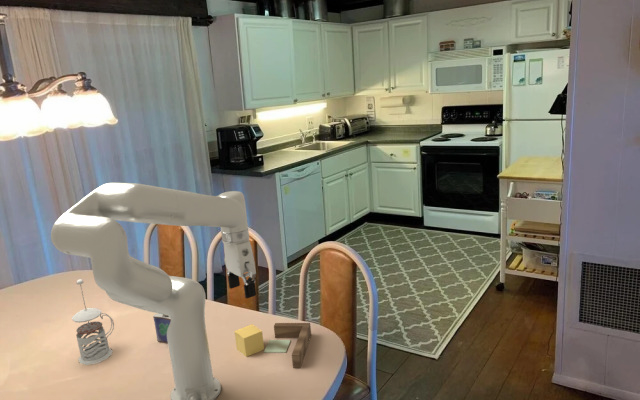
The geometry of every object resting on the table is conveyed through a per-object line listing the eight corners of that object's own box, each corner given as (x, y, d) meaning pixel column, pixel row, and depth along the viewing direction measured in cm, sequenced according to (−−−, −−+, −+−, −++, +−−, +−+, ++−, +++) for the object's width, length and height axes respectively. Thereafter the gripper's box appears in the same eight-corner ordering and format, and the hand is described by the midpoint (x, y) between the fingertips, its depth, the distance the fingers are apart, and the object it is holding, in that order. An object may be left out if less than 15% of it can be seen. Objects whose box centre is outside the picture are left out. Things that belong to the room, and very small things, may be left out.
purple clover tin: (155, 341, 154) (150, 310, 152) (162, 337, 157) (157, 306, 154) (178, 346, 150) (173, 314, 148) (184, 341, 153) (180, 310, 150)
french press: (73, 356, 149) (57, 280, 143) (112, 341, 156) (98, 268, 151) (82, 369, 142) (65, 289, 136) (123, 353, 149) (108, 276, 143)
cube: (264, 349, 144) (262, 331, 143) (246, 357, 141) (243, 338, 140) (254, 341, 149) (252, 324, 148) (236, 349, 146) (234, 331, 144)
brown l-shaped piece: (300, 368, 133) (298, 354, 132) (256, 367, 135) (255, 354, 134) (311, 334, 150) (310, 322, 150) (272, 334, 152) (271, 322, 152)
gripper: (262, 238, 132) (269, 296, 136) (233, 226, 146) (240, 280, 150) (237, 245, 128) (245, 305, 132) (210, 232, 142) (217, 287, 146)
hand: (242, 291), depth 141 cm, fingers open, 9 cm apart
